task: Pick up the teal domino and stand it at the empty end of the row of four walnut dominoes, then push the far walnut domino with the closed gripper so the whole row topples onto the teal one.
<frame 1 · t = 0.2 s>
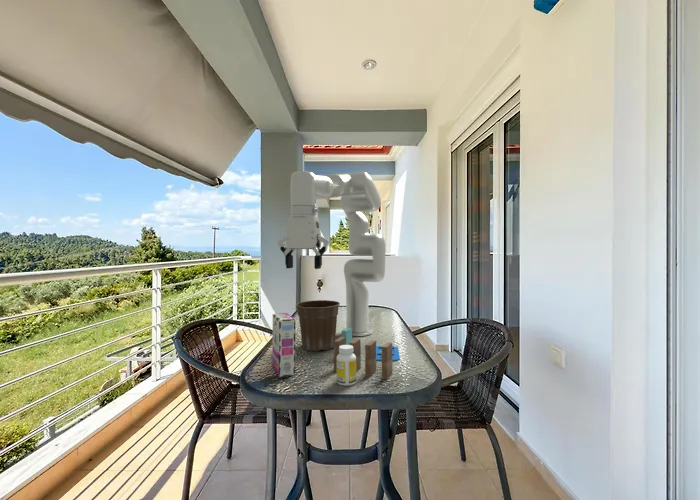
hand: (303, 268, 104), 31 cm above the table, tool pointing down, fingers open, 9 cm apart
domino walnut 4: (340, 368, 103), on the table
domino walnut 3: (355, 370, 101), on the table
candy bar box: (283, 371, 102), on the table
supplement bottle: (346, 383, 93), on the table
domino teal end: (347, 355, 115), on the table
domino walnut 2: (370, 373, 99), on the table
domino walnut 1: (387, 375, 97), on the table
handheld gaming device: (386, 355, 117), on the table
plant pot: (318, 347, 126), on the table
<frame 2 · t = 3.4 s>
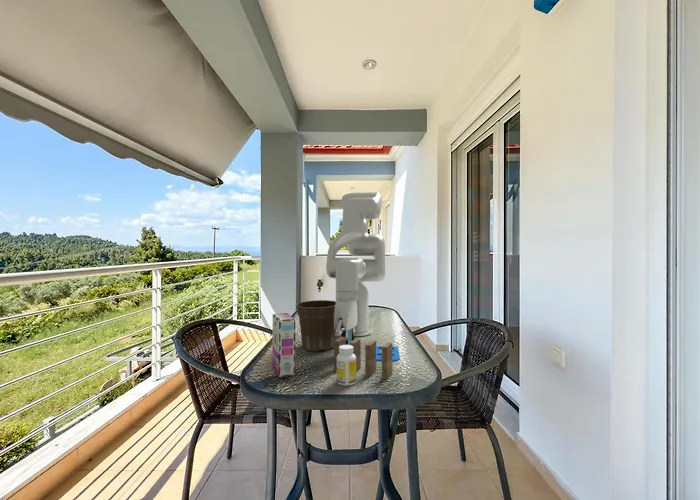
hand: (347, 348, 115), 2 cm above the table, tool pointing down, fingers closed on domino teal end, 4 cm apart
domino teal end: (347, 355, 115), on the table, touching gripper
everything else where it was.
when the fingers open (3 cm above the table, at t = 9.1 s): domino teal end stays where it is, on the table.
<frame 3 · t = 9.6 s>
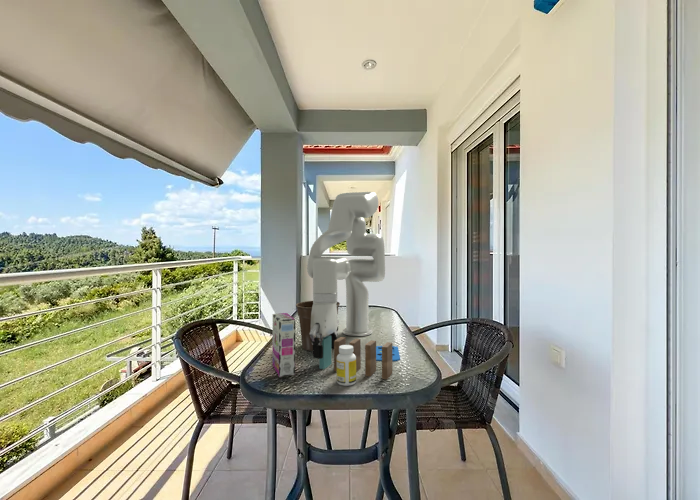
hand: (325, 353, 105), 4 cm above the table, tool pointing down, fingers open, 9 cm apart
domino teal end: (325, 366, 105), on the table
everything else where it was.
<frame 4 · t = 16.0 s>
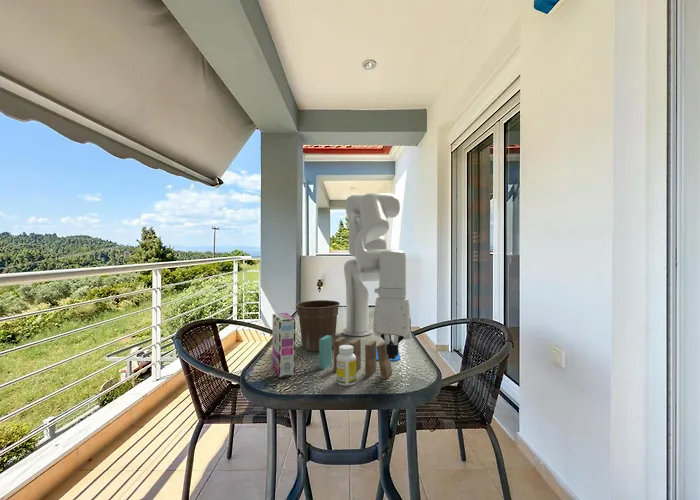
hand: (392, 357, 97), 5 cm above the table, tool pointing down, fingers closed
domino walnut 1: (387, 375, 97), on the table, tilted 11°
everything else where it was.
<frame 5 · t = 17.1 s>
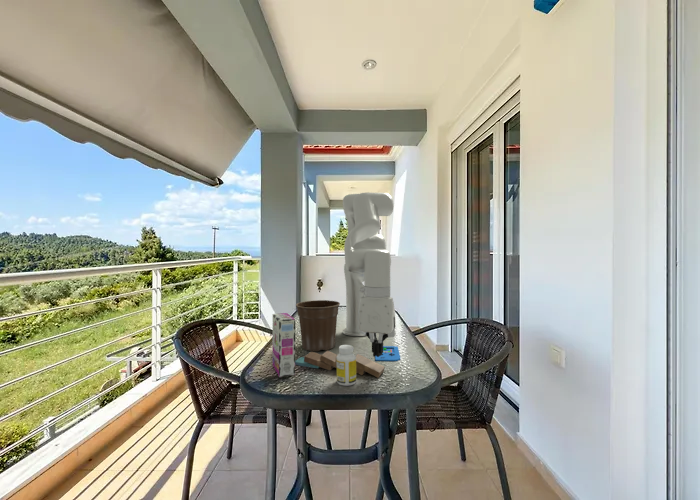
hand: (377, 355, 98), 6 cm above the table, tool pointing down, fingers closed
domino walnut 4: (333, 365, 104), point 1 cm above the table, tilted 78°, touching domino teal end, domino walnut 3
domino walnut 3: (349, 367, 102), point 1 cm above the table, tilted 72°, touching domino walnut 4
domino teal end: (322, 365, 106), on the table, tilted 90°, touching domino walnut 4
domino walnut 2: (365, 369, 100), point 1 cm above the table, tilted 72°, touching domino walnut 1
domino walnut 1: (381, 372, 98), point 1 cm above the table, tilted 71°, touching domino walnut 2
everything else where it was.
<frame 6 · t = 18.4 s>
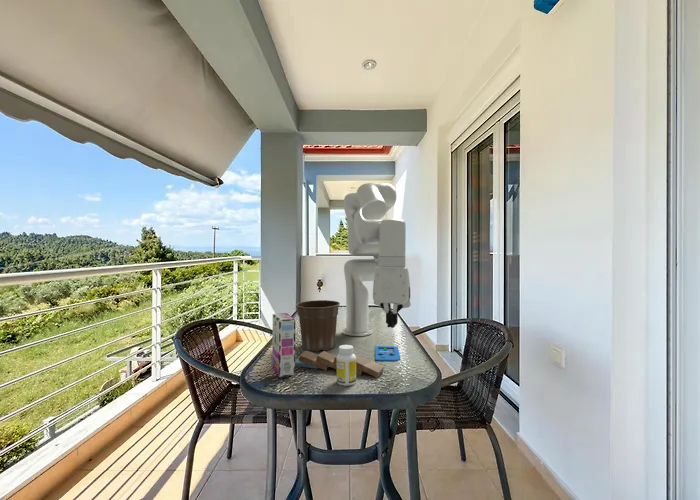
hand: (391, 326, 97), 14 cm above the table, tool pointing down, fingers closed
domino walnut 4: (328, 364, 104), point 1 cm above the table, tilted 74°, touching domino walnut 3
domino walnut 3: (346, 367, 102), point 1 cm above the table, tilted 73°, touching domino walnut 4
domino teal end: (320, 365, 106), on the table, tilted 90°
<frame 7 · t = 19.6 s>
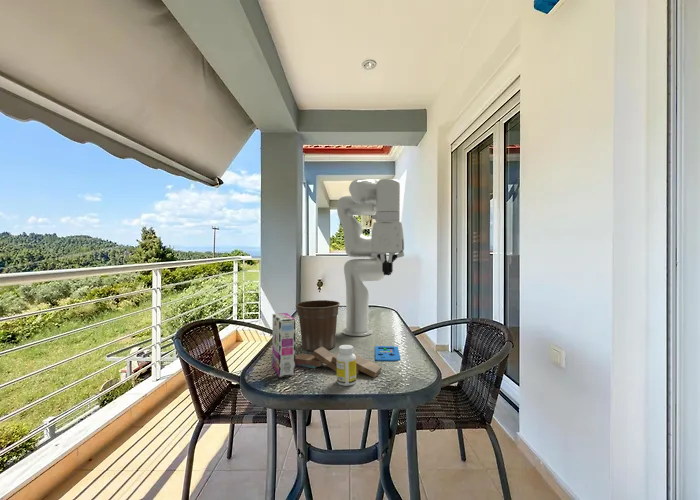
hand: (387, 274, 110), 28 cm above the table, tool pointing down, fingers closed
domino walnut 4: (323, 361, 105), point 2 cm above the table, tilted 89°, touching domino teal end, domino walnut 3
domino walnut 3: (340, 366, 103), point 1 cm above the table, tilted 65°, touching domino walnut 2, domino walnut 4
domino teal end: (318, 365, 106), on the table, tilted 90°, touching domino walnut 4
domino walnut 2: (361, 369, 100), point 1 cm above the table, tilted 73°, touching domino walnut 1, domino walnut 3
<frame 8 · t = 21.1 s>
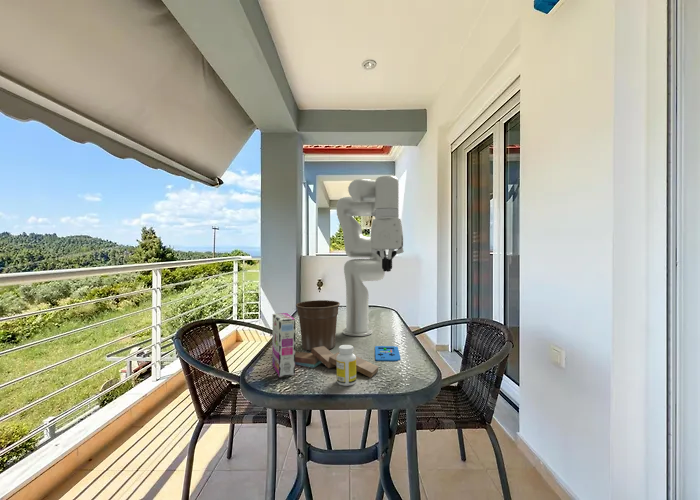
hand: (387, 271, 110), 29 cm above the table, tool pointing down, fingers closed
domino walnut 4: (317, 359, 107), point 2 cm above the table, tilted 90°, touching domino teal end, domino walnut 3
domino walnut 3: (335, 364, 104), point 1 cm above the table, tilted 71°, touching domino walnut 2, domino walnut 4
at the end: domino teal end tilted 90°; domino walnut 3 tilted 71°; domino teal end inside the target area (0.3 cm from its centre), on the table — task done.
